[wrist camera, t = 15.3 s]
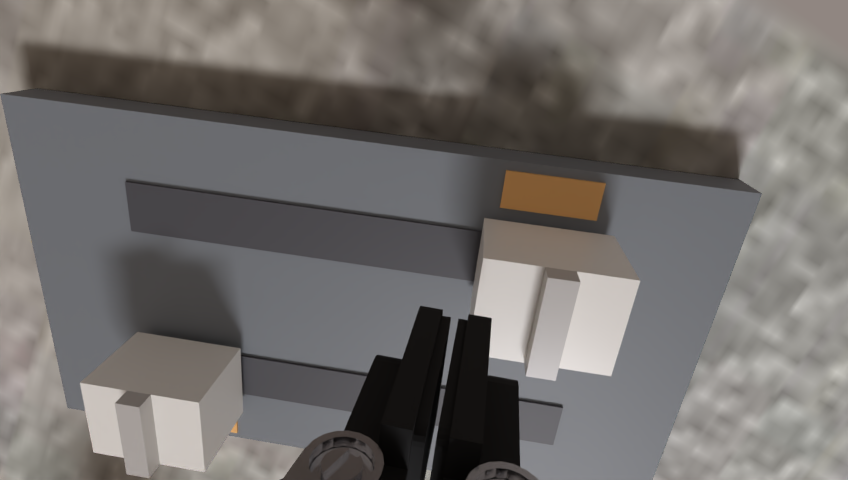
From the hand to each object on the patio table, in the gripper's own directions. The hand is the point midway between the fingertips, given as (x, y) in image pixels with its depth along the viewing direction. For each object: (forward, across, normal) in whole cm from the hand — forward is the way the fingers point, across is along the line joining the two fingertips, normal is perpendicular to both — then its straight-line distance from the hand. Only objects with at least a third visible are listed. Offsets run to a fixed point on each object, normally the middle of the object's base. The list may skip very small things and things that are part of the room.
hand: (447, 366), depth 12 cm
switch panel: (+7, +4, +3) cm, 9 cm away
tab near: (+5, -2, 0) cm, 6 cm away
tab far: (+5, +10, +6) cm, 13 cm away
